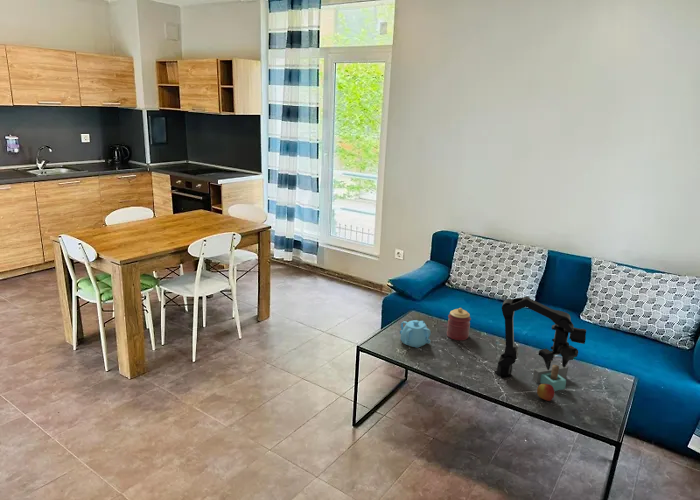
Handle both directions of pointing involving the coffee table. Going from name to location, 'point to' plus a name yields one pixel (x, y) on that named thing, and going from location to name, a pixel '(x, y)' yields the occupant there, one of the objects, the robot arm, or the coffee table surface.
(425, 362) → the coffee table surface
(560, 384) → the holed block
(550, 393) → the apple
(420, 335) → the decorative pot
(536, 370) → the wall
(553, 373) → the dowel
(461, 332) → the canister
